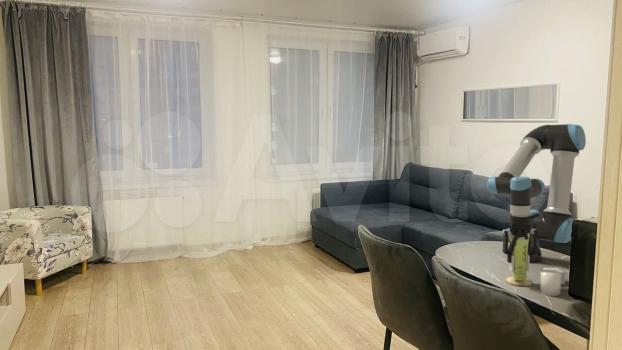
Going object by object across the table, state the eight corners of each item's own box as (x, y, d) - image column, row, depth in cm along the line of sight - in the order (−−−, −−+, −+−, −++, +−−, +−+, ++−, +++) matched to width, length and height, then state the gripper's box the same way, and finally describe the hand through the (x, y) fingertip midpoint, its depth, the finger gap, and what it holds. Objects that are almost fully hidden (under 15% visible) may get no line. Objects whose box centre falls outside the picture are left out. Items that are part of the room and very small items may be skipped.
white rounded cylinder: (555, 289, 179) (555, 269, 178) (564, 296, 172) (564, 275, 171) (536, 289, 179) (537, 269, 178) (545, 296, 172) (545, 275, 171)
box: (557, 279, 190) (558, 267, 189) (564, 284, 184) (565, 272, 184) (542, 279, 190) (543, 267, 190) (549, 284, 185) (549, 272, 184)
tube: (519, 282, 184) (519, 235, 182) (509, 278, 189) (509, 232, 187) (529, 279, 186) (529, 233, 184) (519, 276, 191) (519, 230, 189)
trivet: (526, 277, 193) (526, 276, 193) (536, 286, 183) (536, 284, 183) (502, 278, 193) (502, 276, 193) (511, 286, 183) (511, 284, 183)
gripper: (539, 212, 188) (538, 266, 191) (493, 213, 189) (493, 267, 191) (547, 216, 181) (546, 272, 183) (500, 217, 181) (499, 273, 184)
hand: (519, 270), depth 187 cm, fingers closed on tube, 6 cm apart
